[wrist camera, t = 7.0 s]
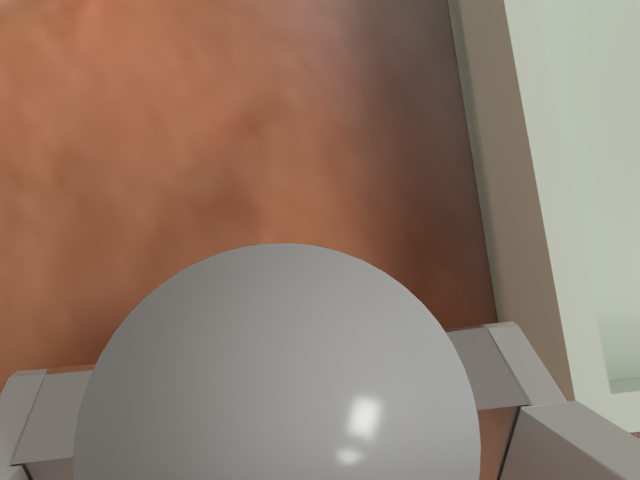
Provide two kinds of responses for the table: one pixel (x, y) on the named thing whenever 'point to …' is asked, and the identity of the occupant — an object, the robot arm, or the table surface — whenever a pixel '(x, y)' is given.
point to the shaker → (278, 378)
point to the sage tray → (561, 183)
